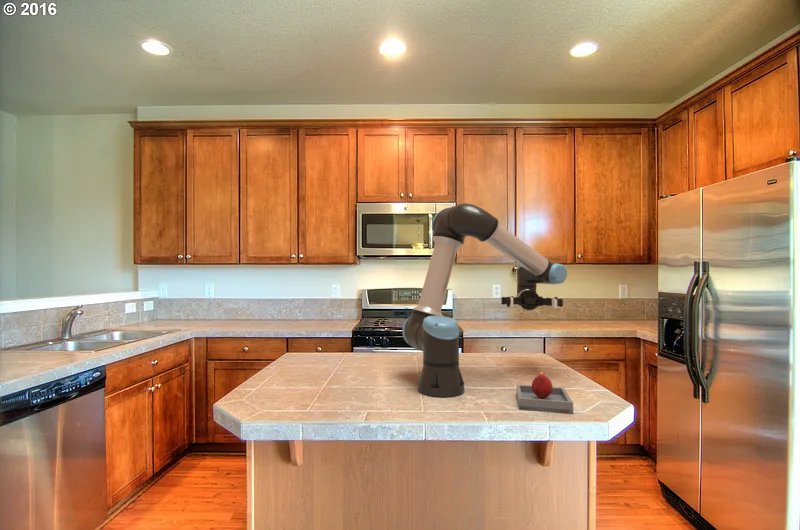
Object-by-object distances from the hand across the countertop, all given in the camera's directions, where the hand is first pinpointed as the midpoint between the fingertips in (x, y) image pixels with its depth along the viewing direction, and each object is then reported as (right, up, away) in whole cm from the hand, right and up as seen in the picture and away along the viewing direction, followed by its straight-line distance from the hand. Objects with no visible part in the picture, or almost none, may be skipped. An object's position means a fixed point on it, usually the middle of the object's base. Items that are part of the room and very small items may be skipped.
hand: (533, 303), depth 125 cm
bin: (-2, -28, -13) cm, 31 cm away
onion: (-2, -27, -13) cm, 30 cm away
